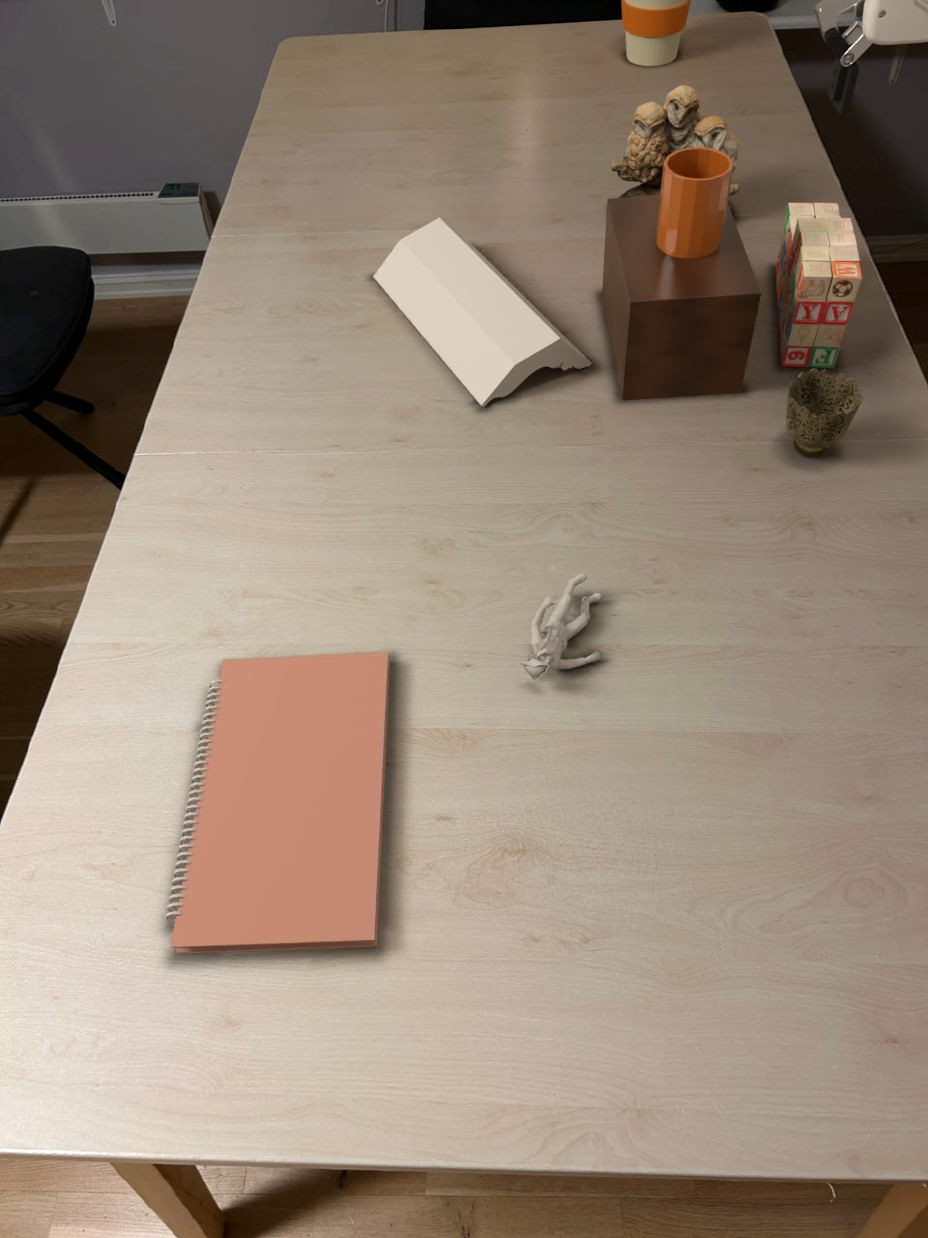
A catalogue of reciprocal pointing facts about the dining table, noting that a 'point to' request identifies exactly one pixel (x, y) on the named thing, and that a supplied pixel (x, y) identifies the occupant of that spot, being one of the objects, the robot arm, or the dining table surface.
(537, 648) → the grey humanoid figurine
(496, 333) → the molding piece
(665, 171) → the cup
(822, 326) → the stack of blocks
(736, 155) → the owl figurine
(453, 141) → the dining table surface
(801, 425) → the cup
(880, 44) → the robot arm
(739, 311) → the dark brown wooden block
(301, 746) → the notebook
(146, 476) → the dining table surface
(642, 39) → the reusable coffee cup
